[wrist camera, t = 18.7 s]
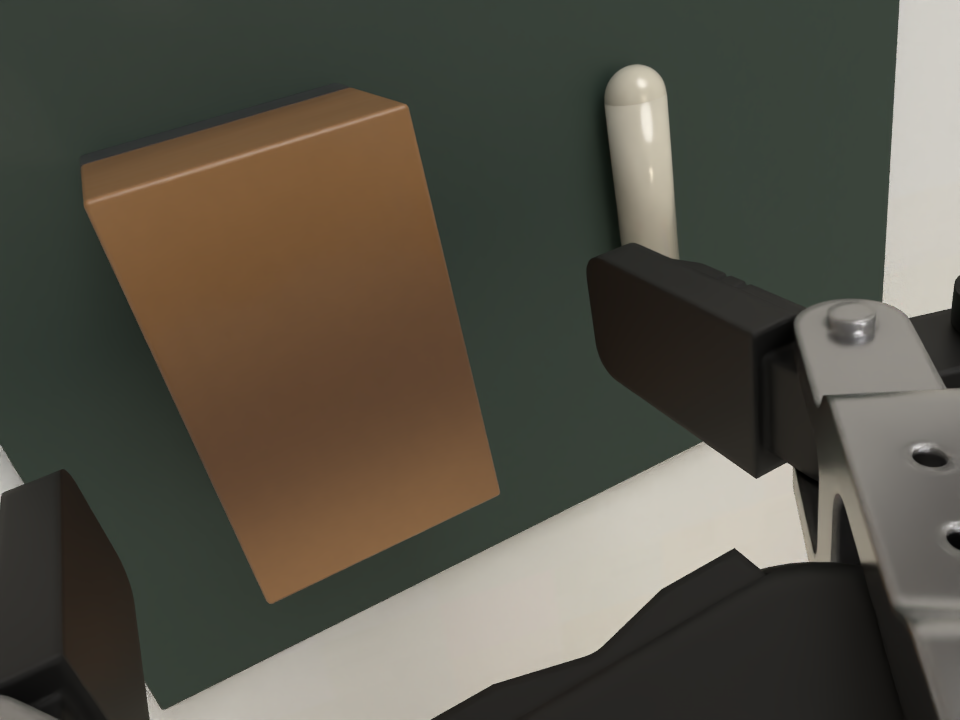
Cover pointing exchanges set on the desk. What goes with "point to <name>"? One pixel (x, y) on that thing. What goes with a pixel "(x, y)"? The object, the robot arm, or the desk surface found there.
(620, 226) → the chalk stick
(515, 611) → the desk surface
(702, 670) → the robot arm
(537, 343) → the chalkboard
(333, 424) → the eraser
